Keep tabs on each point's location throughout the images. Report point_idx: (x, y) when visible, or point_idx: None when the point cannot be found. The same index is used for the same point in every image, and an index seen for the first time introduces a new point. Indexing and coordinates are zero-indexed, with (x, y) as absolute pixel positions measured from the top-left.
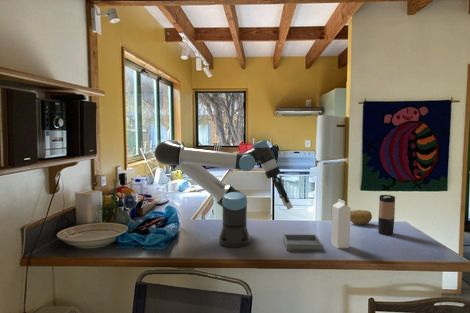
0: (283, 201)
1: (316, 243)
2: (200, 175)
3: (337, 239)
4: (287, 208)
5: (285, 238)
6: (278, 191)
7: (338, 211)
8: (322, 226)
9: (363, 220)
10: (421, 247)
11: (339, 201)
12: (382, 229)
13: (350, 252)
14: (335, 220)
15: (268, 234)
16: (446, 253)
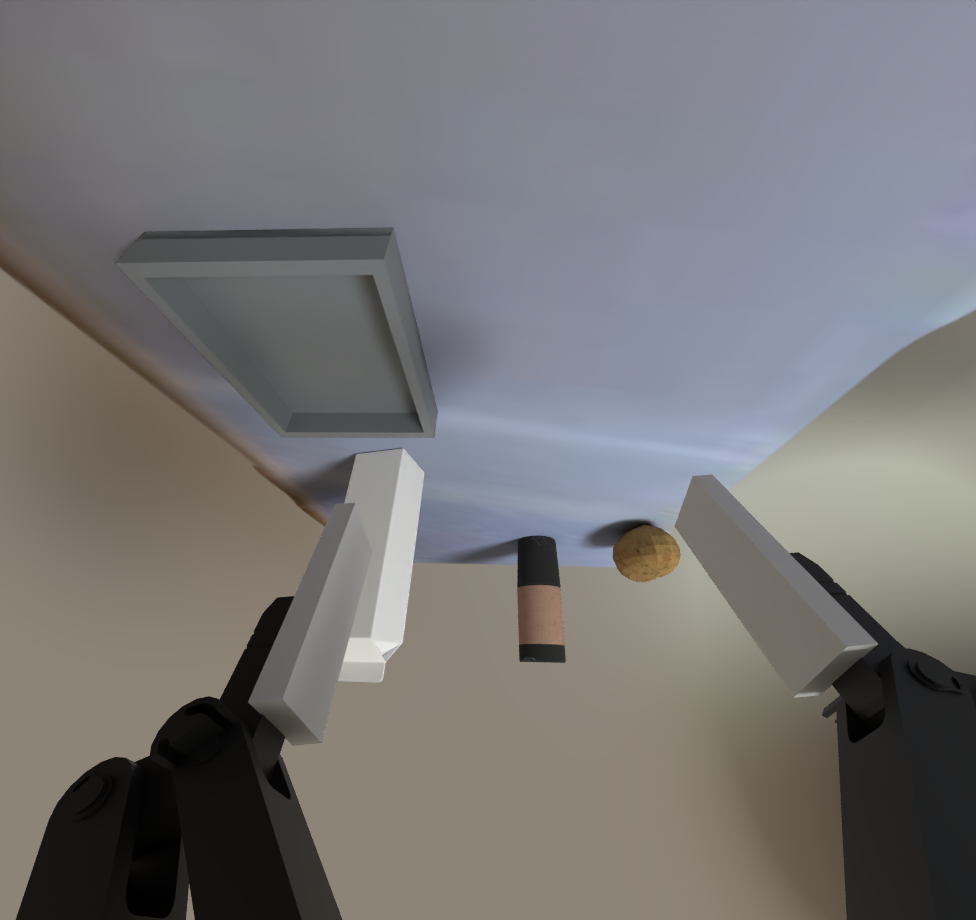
0: (727, 533)
1: (364, 411)
2: None
3: (350, 486)
4: (330, 519)
5: (264, 267)
6: (906, 762)
7: None
8: (658, 461)
9: (615, 549)
10: (437, 551)
11: (371, 667)
12: (525, 551)
13: (333, 471)
14: None
15: (573, 34)
16: None
